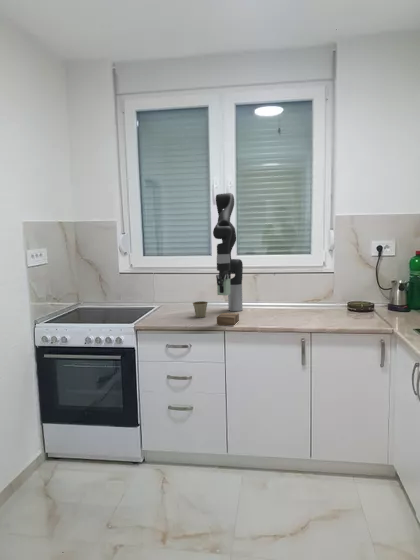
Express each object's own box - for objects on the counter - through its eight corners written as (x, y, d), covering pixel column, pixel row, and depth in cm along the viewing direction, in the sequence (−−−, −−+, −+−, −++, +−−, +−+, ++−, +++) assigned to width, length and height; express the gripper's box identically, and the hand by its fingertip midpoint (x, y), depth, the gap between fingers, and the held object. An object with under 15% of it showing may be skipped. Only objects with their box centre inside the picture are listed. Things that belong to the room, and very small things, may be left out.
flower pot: (195, 318, 251) (194, 304, 250) (191, 315, 260) (190, 302, 259) (210, 317, 254) (209, 303, 252) (206, 314, 263) (205, 300, 261)
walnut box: (222, 321, 244) (222, 312, 243) (239, 322, 241) (238, 313, 240) (217, 325, 235) (216, 316, 234) (234, 326, 231) (233, 317, 231)
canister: (221, 293, 240) (221, 278, 239) (230, 294, 238) (230, 278, 237) (217, 295, 235) (216, 279, 234) (226, 295, 233) (226, 279, 232)
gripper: (223, 261, 242) (223, 289, 244) (211, 263, 230) (212, 293, 232) (234, 261, 239) (235, 290, 241) (223, 263, 226) (224, 294, 228)
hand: (224, 291), depth 236 cm, fingers closed on canister, 5 cm apart
